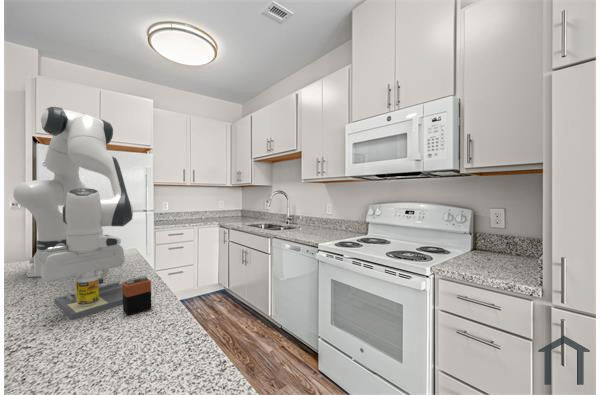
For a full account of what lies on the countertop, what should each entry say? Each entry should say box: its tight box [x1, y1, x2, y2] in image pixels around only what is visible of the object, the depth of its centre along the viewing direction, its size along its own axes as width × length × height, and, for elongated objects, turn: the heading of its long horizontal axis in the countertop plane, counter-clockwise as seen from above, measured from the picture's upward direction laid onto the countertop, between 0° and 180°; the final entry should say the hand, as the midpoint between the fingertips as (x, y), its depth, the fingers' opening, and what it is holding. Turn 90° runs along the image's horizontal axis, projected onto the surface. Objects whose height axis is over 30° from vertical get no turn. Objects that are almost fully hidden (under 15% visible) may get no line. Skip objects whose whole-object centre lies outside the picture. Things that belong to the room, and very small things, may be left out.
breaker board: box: [54, 281, 123, 321], centre depth 93 cm, size 18×18×3 cm
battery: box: [121, 275, 152, 316], centre depth 86 cm, size 4×7×10 cm, turn 137°
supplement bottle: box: [75, 271, 100, 306], centre depth 87 cm, size 6×6×10 cm
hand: (87, 286), depth 86 cm, fingers open, 6 cm apart
